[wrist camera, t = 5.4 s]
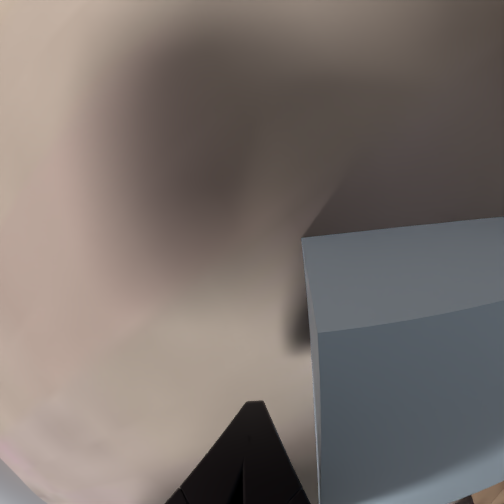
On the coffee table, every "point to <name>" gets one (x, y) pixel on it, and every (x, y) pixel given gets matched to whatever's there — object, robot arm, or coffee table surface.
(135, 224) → the coffee table surface
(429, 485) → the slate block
